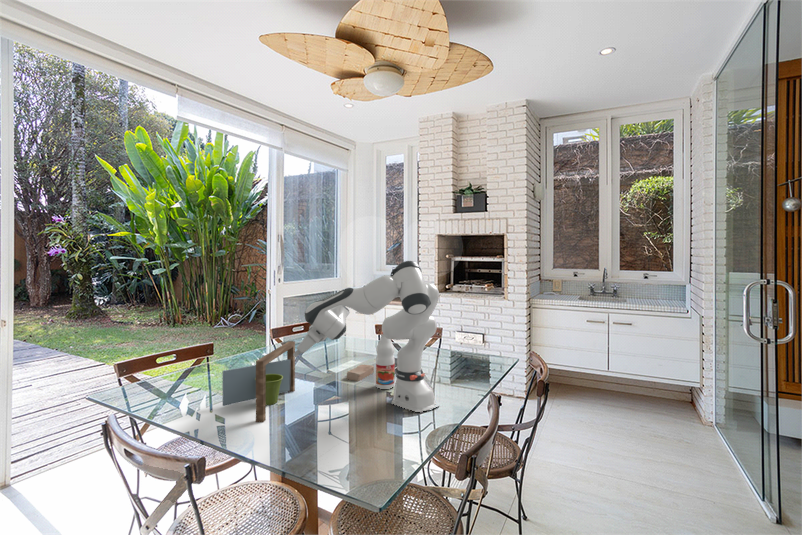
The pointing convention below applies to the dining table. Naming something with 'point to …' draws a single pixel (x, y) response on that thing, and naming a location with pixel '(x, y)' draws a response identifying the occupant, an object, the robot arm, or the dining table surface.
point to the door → (251, 381)
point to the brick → (360, 372)
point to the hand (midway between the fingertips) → (297, 352)
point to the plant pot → (272, 388)
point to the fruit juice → (385, 363)
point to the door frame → (262, 377)
